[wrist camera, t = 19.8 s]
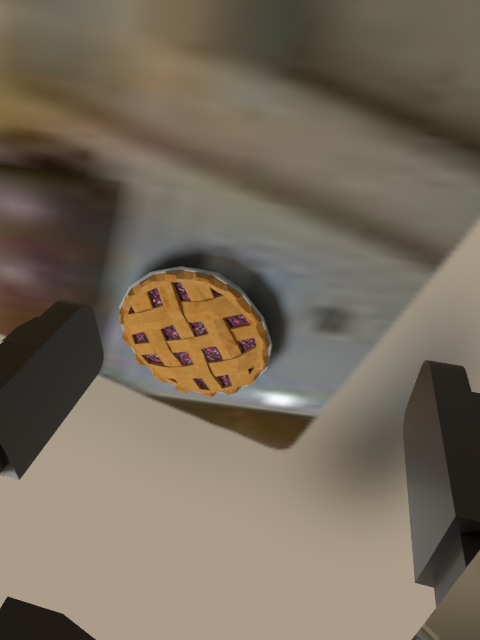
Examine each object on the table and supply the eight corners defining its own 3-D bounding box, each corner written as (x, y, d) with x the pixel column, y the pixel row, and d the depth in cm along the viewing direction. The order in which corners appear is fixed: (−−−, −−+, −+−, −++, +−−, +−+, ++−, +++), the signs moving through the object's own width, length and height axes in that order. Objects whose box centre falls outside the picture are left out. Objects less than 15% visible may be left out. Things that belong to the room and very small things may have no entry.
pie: (101, 283, 61) (83, 302, 57) (230, 232, 51) (219, 251, 47) (178, 390, 71) (167, 412, 67) (299, 364, 61) (294, 389, 57)
